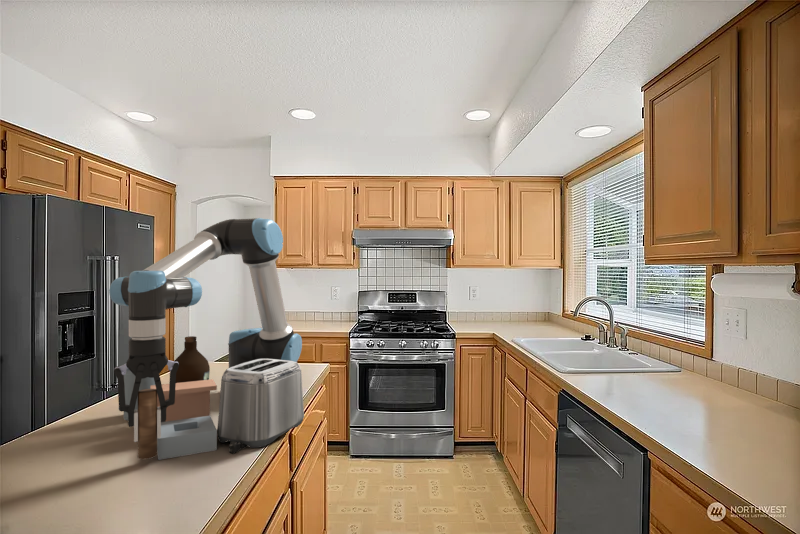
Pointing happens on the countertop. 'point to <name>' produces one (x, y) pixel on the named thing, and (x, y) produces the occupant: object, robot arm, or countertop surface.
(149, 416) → the peg
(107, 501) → the countertop surface
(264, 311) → the robot arm
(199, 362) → the olive oil
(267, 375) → the toaster
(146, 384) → the spray bottle
